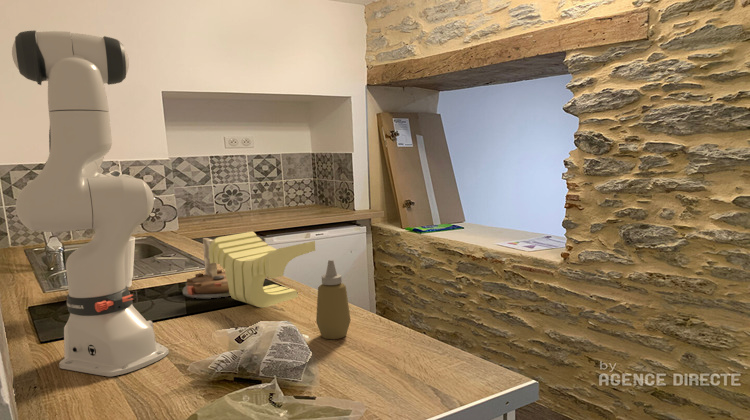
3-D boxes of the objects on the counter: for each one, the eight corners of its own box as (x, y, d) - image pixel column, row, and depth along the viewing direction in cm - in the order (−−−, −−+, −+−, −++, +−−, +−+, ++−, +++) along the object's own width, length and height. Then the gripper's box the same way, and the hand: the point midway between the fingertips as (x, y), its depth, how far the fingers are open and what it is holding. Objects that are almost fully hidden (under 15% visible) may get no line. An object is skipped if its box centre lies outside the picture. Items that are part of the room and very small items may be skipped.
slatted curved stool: (212, 296, 155) (208, 239, 152) (256, 285, 166) (253, 231, 164) (272, 316, 135) (268, 250, 132) (317, 302, 146) (314, 240, 144)
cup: (141, 280, 177) (137, 235, 175) (137, 289, 166) (133, 240, 164) (103, 284, 173) (98, 238, 171) (96, 293, 162) (91, 244, 160)
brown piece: (260, 285, 162) (257, 241, 160) (199, 297, 150) (196, 251, 148) (235, 274, 176) (232, 234, 175) (178, 285, 165) (175, 242, 163)
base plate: (268, 284, 167) (268, 274, 166) (216, 302, 148) (215, 291, 148) (222, 276, 178) (221, 267, 178) (167, 293, 160) (166, 282, 159)
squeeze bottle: (319, 329, 124) (315, 257, 122) (352, 328, 124) (349, 256, 122) (314, 342, 116) (310, 265, 114) (349, 341, 116) (346, 264, 114)
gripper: (95, 201, 142) (145, 221, 147) (118, 166, 159) (162, 185, 164) (88, 218, 144) (137, 237, 149) (111, 182, 161) (155, 200, 166)
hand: (150, 209), depth 157 cm, fingers open, 8 cm apart
